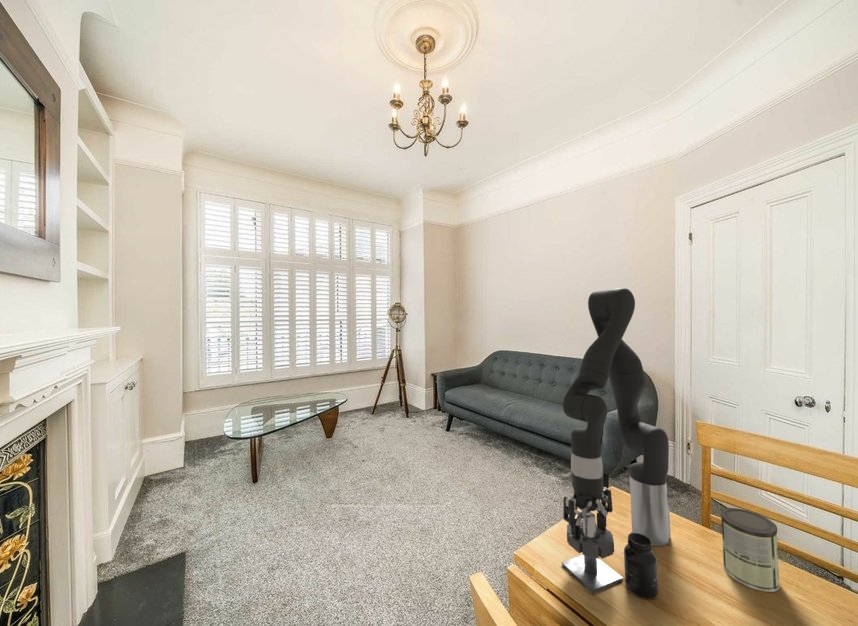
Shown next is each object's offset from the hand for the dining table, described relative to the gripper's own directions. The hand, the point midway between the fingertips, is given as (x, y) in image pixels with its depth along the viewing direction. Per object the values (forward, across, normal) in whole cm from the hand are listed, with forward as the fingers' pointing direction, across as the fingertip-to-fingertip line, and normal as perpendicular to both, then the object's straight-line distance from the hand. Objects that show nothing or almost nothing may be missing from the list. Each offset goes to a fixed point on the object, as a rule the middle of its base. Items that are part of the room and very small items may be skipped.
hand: (589, 533), depth 86 cm
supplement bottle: (+10, -7, +8) cm, 15 cm away
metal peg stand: (+10, 0, 0) cm, 10 cm away
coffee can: (+10, -35, +16) cm, 40 cm away
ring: (+2, 0, 0) cm, 2 cm away
